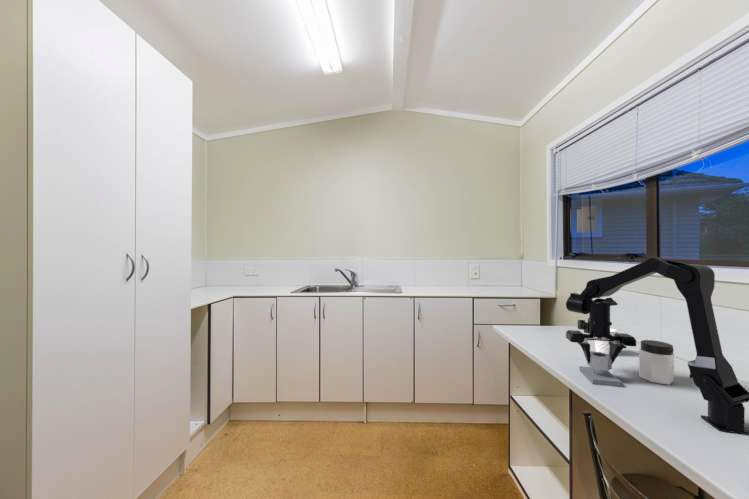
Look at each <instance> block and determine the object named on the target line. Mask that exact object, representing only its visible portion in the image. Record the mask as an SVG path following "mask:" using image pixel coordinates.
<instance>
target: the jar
mask: <svg viewBox="0 0 749 499" xmlns="http://www.w3.org/2000/svg"><path fill="white" fill-rule="evenodd" d="M638 351H639V356H638V357H639V362H638V363H639V367H638V368H639V369H638V370H639V372H638V374H639V375H638V376H639V377H640V378H641V379H644V380H646V381H647V382H650V383H655V384H662V385H668V386H669V385H671V384H673V383H674V382H675V353H674V345H672V344H671V343H667V342H664V341H658V340H652V339H649V340H648V339H645V340H641V341H640V348H639V350H638Z"/></svg>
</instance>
